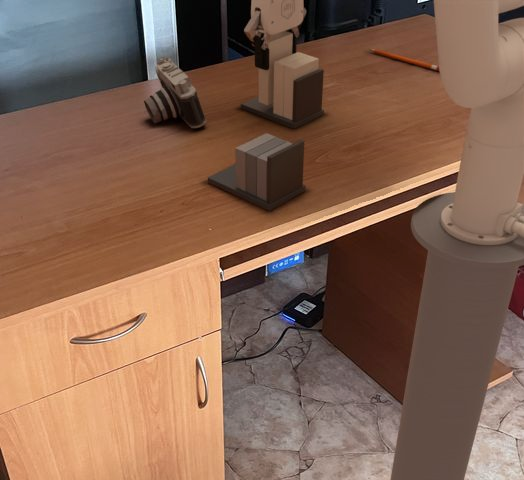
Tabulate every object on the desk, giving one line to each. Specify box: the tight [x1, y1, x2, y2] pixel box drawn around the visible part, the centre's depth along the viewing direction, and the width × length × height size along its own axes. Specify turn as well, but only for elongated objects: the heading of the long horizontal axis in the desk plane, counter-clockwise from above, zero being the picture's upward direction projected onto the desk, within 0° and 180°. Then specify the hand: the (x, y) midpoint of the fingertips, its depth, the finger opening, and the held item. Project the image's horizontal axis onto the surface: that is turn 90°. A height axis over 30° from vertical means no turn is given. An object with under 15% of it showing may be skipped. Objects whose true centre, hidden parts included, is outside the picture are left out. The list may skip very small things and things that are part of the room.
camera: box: [143, 56, 207, 129], centre depth 150 cm, size 16×9×10 cm, turn 25°
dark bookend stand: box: [240, 51, 325, 130], centre depth 152 cm, size 14×9×11 cm, turn 48°
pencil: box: [368, 48, 440, 72], centre depth 176 cm, size 1×19×1 cm, turn 50°
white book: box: [257, 31, 293, 105], centre depth 151 cm, size 2×7×12 cm, turn 138°
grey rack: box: [207, 132, 306, 212], centre depth 129 cm, size 14×9×9 cm, turn 48°
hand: (275, 62), depth 150 cm, fingers closed on white book, 7 cm apart
